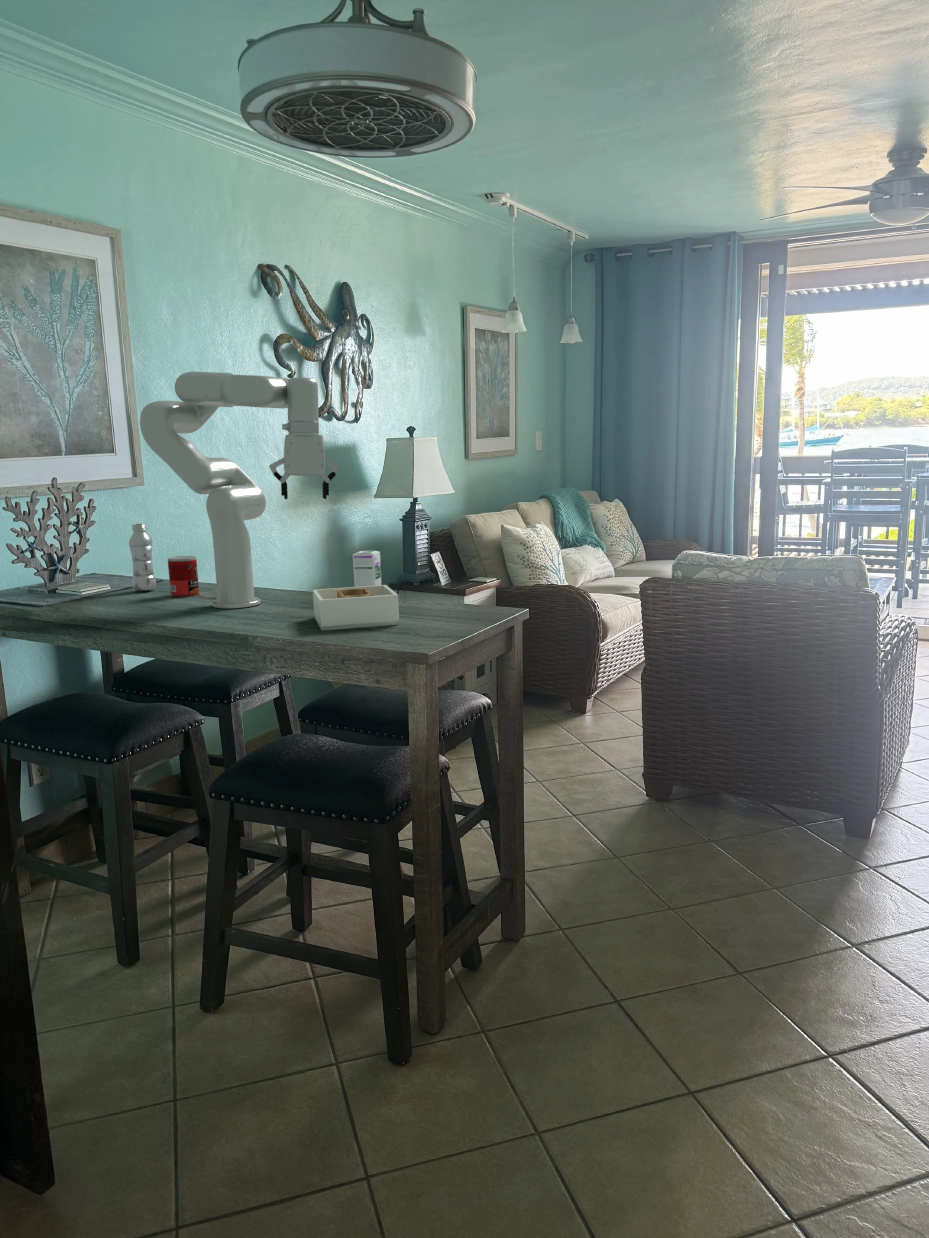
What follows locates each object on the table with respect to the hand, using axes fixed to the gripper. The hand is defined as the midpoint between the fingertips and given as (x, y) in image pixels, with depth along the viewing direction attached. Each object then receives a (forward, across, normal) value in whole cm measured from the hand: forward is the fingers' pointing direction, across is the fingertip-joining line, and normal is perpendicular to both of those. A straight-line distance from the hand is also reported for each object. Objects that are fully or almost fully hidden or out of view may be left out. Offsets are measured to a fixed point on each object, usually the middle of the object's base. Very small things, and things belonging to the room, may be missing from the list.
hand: (305, 498), depth 223 cm
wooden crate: (+26, +10, -21) cm, 35 cm away
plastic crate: (+28, +10, -21) cm, 36 cm away
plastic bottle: (+31, -45, +49) cm, 73 cm away
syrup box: (+28, +15, -4) cm, 32 cm away
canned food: (+31, -32, +36) cm, 57 cm away
